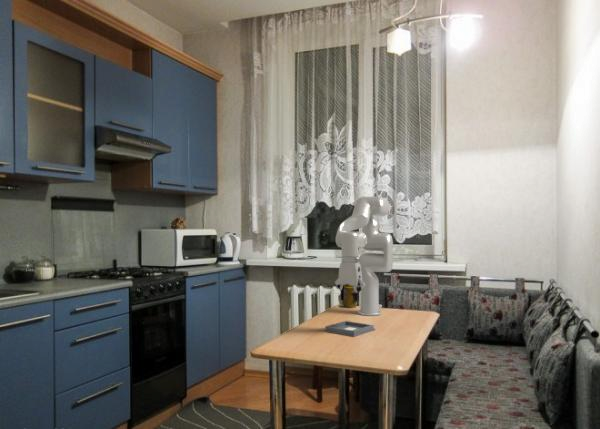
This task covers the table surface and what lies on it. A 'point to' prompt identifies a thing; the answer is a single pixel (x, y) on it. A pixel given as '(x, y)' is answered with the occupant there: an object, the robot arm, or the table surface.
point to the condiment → (349, 297)
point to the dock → (349, 328)
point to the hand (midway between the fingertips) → (349, 300)
